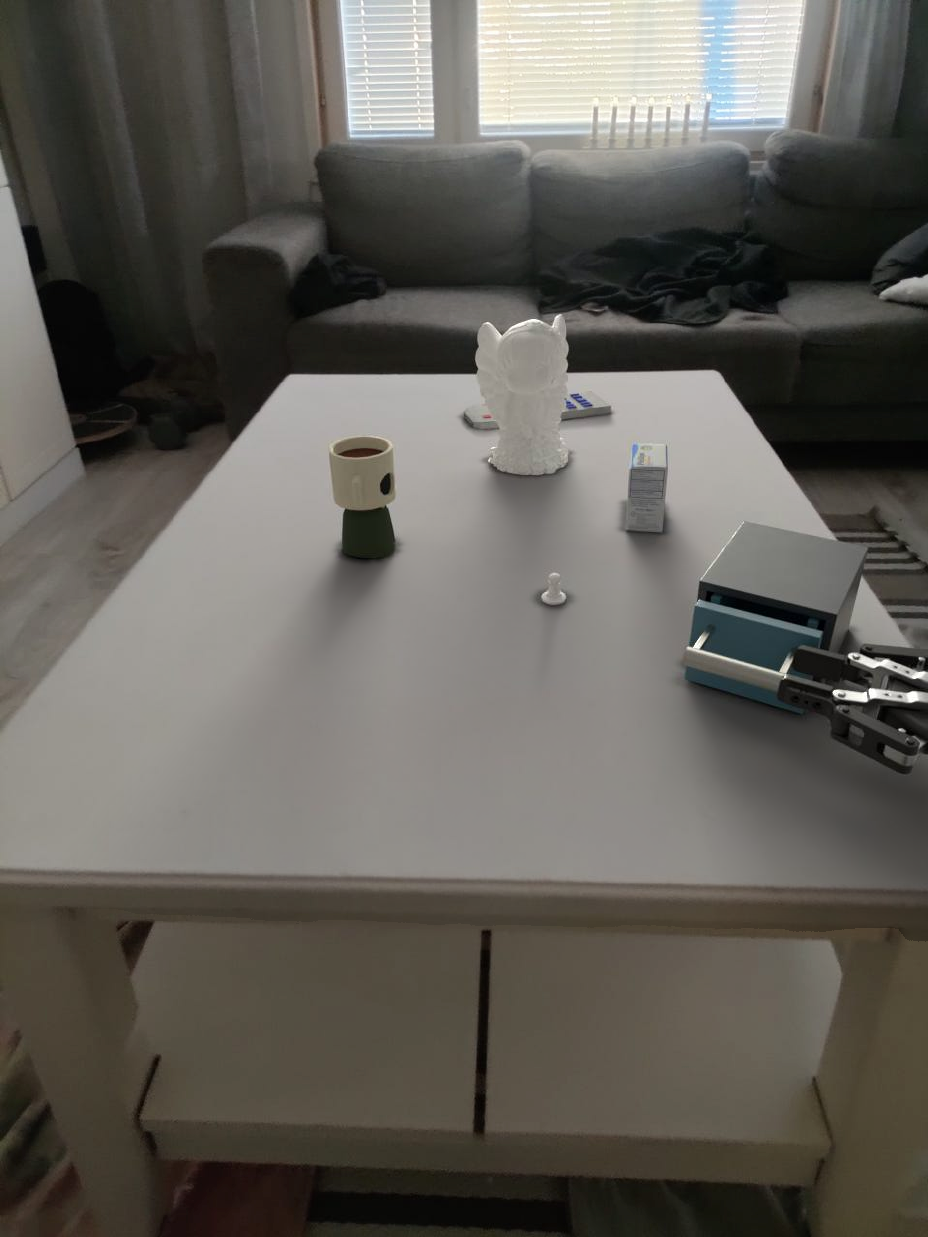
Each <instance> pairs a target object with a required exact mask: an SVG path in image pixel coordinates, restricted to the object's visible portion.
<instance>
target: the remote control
mask: <svg viewBox="0 0 928 1237" xmlns="http://www.w3.org/2000/svg"><path fill="white" fill-rule="evenodd" d="M565 401H566V408H565V409H564V410H562V411H561V416H560V417H561V421H562V420H569V419H577V418H585V417H593V416H599V415H607V414H611V413H612V404H610V403H608V402H607V401H605V400H604V399H602V398H601V397H600V396H598V395H597V394H596V393H594V392H593V391H592V390H591V391H580V392H573V393H568V394H567V396H566V397H565ZM463 418H464V419H465V420H466V421H467V422H468V423H469V425H470V426H471V427H472V428H475V429H479V430H489V429H498V428H499V427H498V424H497V422H496V421H494V420H493V419H492V418H491V416H490V411H489V410H488V409H487V407H486V405H485V403H482V404H474V405H471V406H468V407H466V408H465V409H464V410H463ZM499 429H500V428H499Z"/></svg>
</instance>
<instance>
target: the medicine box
mask: <svg viewBox="0 0 928 1237" xmlns="http://www.w3.org/2000/svg"><path fill="white" fill-rule="evenodd" d="M668 460H669V459H668V445H667V444H662V443H643V442H642V443H631V446H630V456H629V468H628V483H627V498H626V500H627V501H626V513H625V514H626V516H625V531H631V532H633V531H634V532H649V533H663V527H664V517H665V508H666V507H665V506H666V497H667V496H666V495H667V485H668V474H669V467H668V466H669V465H668V463H669V461H668Z"/></svg>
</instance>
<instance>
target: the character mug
mask: <svg viewBox="0 0 928 1237" xmlns="http://www.w3.org/2000/svg"><path fill="white" fill-rule="evenodd" d="M328 458H329V467H330V478H331V487H332V496H333V501H334V503H335V504H336V505H337V506H338V507H339V508H342V509H344V510H343V513H342V524H341V525H342V526H341V531H342V532H341V550H342V552H343V553H344V554H345V555H348V556H351V557H353V558H363V559H377V560H379V559H381V558H384V557H387V556H390V555H391V554H392V553H393V552H394V551H395V549H396V548H395V547H396V546H395V545H397V542H396V536H395V531H394V525H393V521H392V516H391V513H390V508H388V506H387V505H389V504H391V503H392V502H393V501H395V499H396V496H397V495H396V494H397V488H396V487H397V486H396V472H395V459H394V446H393V443H392V442H391V441H389V440H388V439H386V438H383V437H379V436H371V435H358V436H350V437H345V438H341V439H339V440H337V441H334V442H332V443H331V444H330V445H329V447H328Z"/></svg>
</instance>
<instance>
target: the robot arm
mask: <svg viewBox="0 0 928 1237" xmlns="http://www.w3.org/2000/svg"><path fill="white" fill-rule="evenodd" d="M876 658H877V659H883V660H882V661H878V660H876ZM792 668H793V670H795V671H796V672H800V673H803V674H807V675H811V676H814V677H818V678H821V679H825V680H826V681H829V682H832V683H836V684H840V681H841V683H842V684H844V685H846V686H847V687H849V688H852V689H854V690H857V691H854V690H846V689H835V690H834V686H832V685H829V684H826V683H825V684H822V683H818V682H815V681H811V680H807V679H804V678H800V677H797V676H793V675H789V674H786V675H784V676H783V677H782V679H781V681H780V683H779V688H778V693H777V698H778V700H779V701H781V702H783V703H786V704H788V705H790V706H793V707H798V708H800V709H803V710H804V711H807V712H810V713H813V714H817V715H820V716H823V717H825V718H826V721H827V722H828V723H829V724H830V732H829V736H830V738H831V739H832V740H834V741H836V742H838V743H841V744H843V745H844V746H845V747H848V748H850V749H851V750H853V751H855V752H857V753H858V754H861V755H862V756H865V757H867V758H869V759H871V760H873V761H875V762H877V763H878V764H880V765H882V766H884V767H886V768H888V769H890V770H892V771H894V772H896V773H898V774H901V775H908V774H911V773H912V769H913V766H914V765H915V763H916V760H917V759H918V758H919V757H920V756H921V755H927V756H928V648H916V647H905V646H895V645H885V644H884V645H883V644H873V643H863V644H861V645H860V648H859V650H858V651H857V652H850V653H848V654H847V655H845V654H841V653H839V652H838V653H834V652H830V651H825V650H822V649H819V648H815V647H809V646H806V645H799V646H798V647H797V649H796V651H795V653H794V658H793V665H792ZM867 678H870V679H872V680H870V679H867ZM853 707H858V708H862V710H861V711H859V710H858V709H855V708H853ZM851 728H853V729H858V730H859V731H860V733H861V734H862V735H860V734H858V733H856V732H853V731H852V730H851Z"/></svg>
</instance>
